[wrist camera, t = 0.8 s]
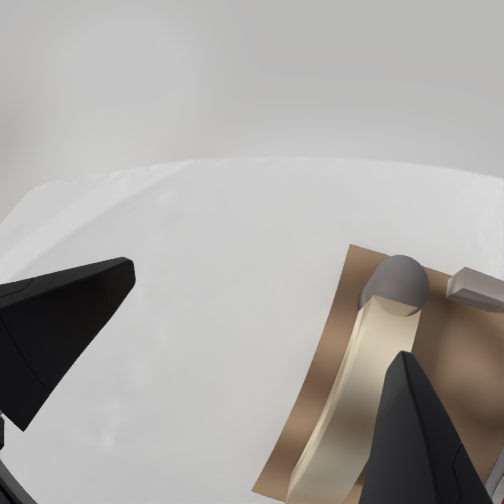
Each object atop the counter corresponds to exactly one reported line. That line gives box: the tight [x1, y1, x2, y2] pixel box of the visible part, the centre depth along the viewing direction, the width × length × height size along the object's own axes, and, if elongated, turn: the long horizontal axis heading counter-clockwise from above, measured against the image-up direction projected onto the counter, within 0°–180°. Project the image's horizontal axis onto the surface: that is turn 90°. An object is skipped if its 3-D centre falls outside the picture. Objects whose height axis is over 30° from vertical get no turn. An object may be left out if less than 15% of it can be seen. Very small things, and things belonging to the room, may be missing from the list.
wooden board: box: [252, 244, 504, 504], centre depth 13 cm, size 21×21×4 cm
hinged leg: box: [285, 255, 429, 504], centre depth 14 cm, size 16×4×5 cm, turn 158°
